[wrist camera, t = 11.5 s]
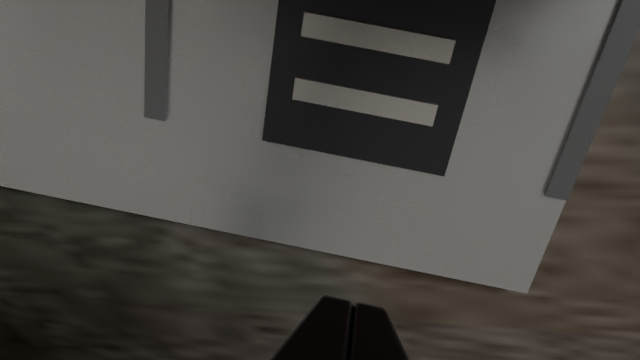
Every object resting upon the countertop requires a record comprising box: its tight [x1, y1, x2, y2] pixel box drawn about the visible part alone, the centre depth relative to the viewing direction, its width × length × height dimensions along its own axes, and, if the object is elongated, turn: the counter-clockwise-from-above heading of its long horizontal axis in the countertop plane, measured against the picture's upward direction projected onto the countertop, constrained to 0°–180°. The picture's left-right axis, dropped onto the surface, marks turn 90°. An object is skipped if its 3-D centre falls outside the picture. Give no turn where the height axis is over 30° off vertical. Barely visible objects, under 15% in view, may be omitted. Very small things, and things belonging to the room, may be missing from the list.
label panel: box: [0, 0, 640, 293], centre depth 18 cm, size 14×30×1 cm, turn 81°
